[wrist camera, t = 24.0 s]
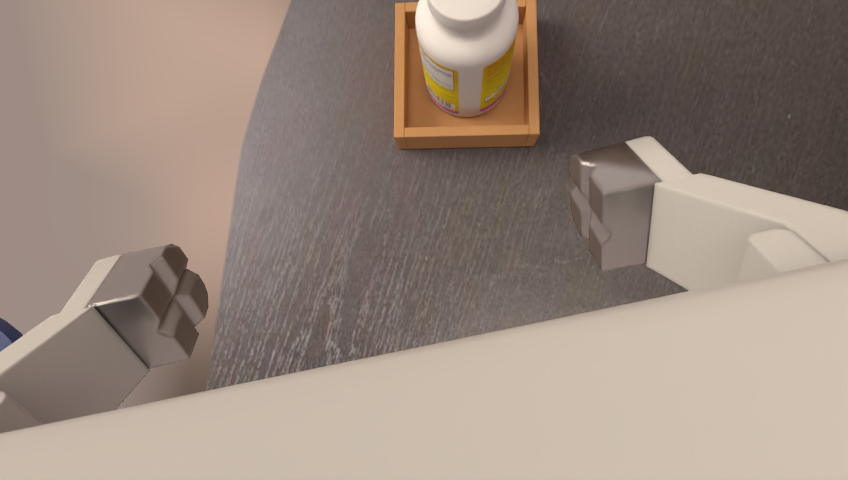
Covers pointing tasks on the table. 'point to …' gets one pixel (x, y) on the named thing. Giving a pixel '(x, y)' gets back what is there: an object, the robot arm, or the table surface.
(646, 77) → the table surface
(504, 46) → the supplement bottle
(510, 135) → the open wooden box
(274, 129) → the table surface
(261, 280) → the table surface
